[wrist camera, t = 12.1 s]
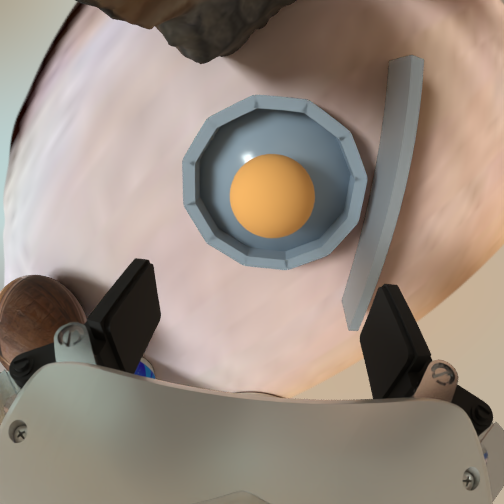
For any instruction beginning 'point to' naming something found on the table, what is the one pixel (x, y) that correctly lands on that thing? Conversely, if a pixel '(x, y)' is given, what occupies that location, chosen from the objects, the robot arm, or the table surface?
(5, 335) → the wooden sphere
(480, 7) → the table surface
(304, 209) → the ball
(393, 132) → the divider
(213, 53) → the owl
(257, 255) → the bowl
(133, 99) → the table surface
